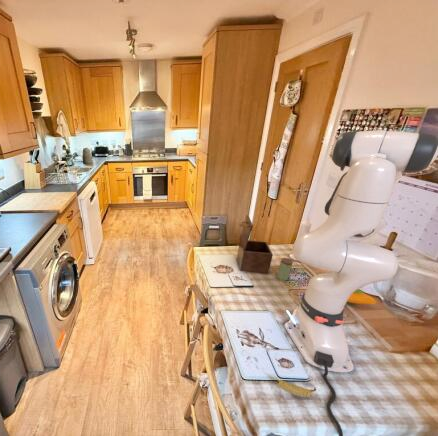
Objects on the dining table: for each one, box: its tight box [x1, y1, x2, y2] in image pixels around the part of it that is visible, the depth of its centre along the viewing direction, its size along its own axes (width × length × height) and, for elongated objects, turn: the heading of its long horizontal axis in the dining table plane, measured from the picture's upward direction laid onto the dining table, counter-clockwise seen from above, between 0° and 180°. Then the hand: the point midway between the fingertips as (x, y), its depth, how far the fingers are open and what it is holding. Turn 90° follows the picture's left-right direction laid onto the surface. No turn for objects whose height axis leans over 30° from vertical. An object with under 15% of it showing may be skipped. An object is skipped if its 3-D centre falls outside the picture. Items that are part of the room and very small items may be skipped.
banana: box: [276, 379, 317, 398], centre depth 67 cm, size 10×2×4 cm, turn 77°
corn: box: [345, 289, 378, 306], centre depth 99 cm, size 7×8×20 cm
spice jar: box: [276, 257, 294, 281], centre depth 113 cm, size 5×5×10 cm
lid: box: [238, 214, 254, 251], centre depth 119 cm, size 14×13×5 cm
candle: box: [289, 217, 312, 262], centre depth 125 cm, size 7×7×25 cm
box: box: [236, 239, 273, 275], centre depth 123 cm, size 14×13×12 cm
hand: (310, 256), depth 108 cm, fingers open, 8 cm apart
